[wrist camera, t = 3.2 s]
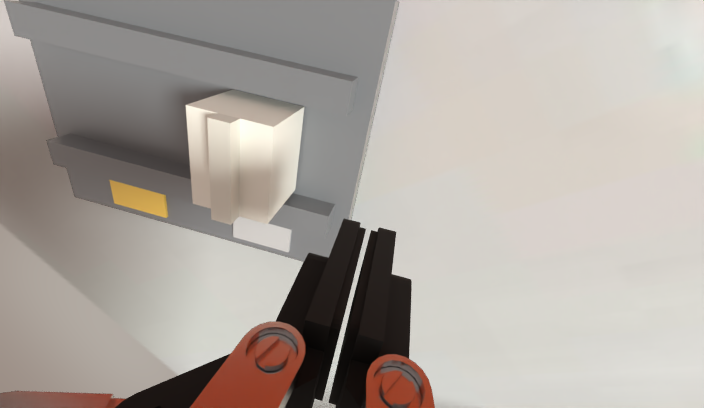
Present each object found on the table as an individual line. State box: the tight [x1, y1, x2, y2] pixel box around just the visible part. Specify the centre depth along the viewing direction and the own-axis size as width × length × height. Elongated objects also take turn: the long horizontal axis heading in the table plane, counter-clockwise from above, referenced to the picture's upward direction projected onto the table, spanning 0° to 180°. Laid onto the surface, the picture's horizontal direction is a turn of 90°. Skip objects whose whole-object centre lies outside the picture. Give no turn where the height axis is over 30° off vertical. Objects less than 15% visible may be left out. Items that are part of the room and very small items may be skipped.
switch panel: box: [4, 0, 399, 262], centre depth 19 cm, size 20×16×4 cm
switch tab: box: [186, 89, 304, 225], centre depth 16 cm, size 4×5×5 cm
